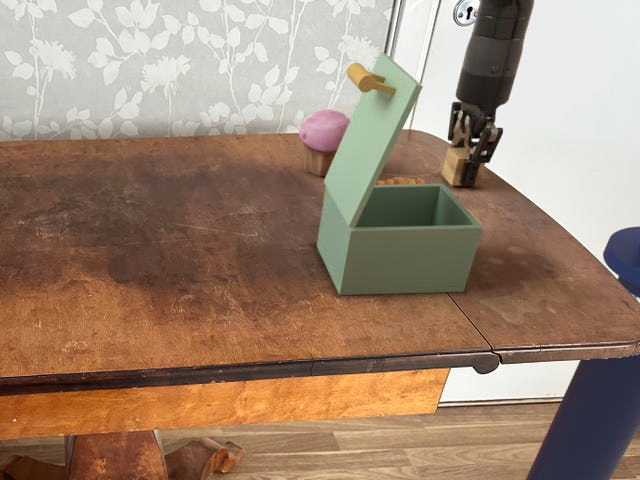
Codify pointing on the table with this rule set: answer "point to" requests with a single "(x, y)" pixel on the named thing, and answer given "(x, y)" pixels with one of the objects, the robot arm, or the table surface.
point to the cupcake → (322, 139)
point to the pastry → (400, 181)
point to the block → (457, 166)
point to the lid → (370, 133)
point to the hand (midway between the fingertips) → (460, 177)
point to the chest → (400, 242)
